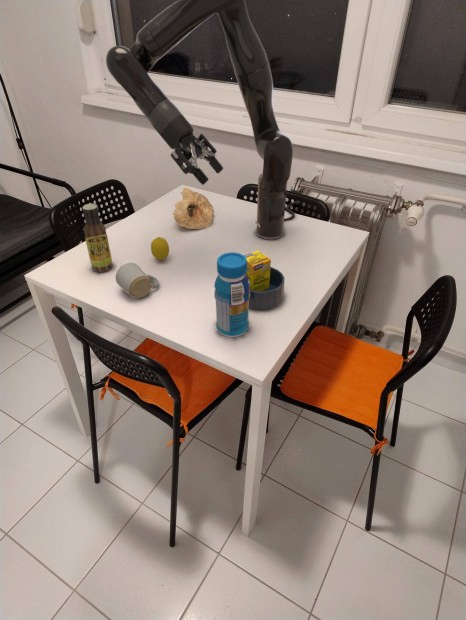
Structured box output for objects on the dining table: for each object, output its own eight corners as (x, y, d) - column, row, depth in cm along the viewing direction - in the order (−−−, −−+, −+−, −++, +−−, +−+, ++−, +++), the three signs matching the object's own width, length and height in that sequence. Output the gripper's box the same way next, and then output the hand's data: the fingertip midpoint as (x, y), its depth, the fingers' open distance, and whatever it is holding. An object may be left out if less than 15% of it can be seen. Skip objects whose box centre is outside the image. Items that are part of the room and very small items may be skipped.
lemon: (167, 265, 123) (164, 242, 118) (150, 263, 123) (146, 240, 118) (172, 256, 127) (170, 233, 122) (156, 254, 128) (153, 232, 123)
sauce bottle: (94, 275, 119) (77, 213, 106) (90, 264, 123) (74, 204, 110) (116, 270, 121) (102, 208, 108) (111, 260, 125) (98, 200, 113)
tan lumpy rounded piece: (208, 244, 145) (212, 230, 139) (169, 235, 143) (171, 221, 136) (213, 207, 154) (217, 193, 147) (176, 199, 152) (179, 184, 145)
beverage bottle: (210, 333, 99) (206, 265, 86) (223, 313, 105) (221, 246, 92) (242, 342, 96) (243, 273, 84) (253, 320, 102) (256, 253, 90)
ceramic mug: (132, 304, 108) (127, 280, 103) (117, 290, 112) (112, 267, 108) (165, 289, 113) (162, 266, 108) (150, 277, 118) (146, 254, 113)
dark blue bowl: (247, 278, 117) (247, 261, 113) (288, 289, 113) (290, 271, 109) (229, 303, 108) (228, 285, 104) (273, 315, 104) (275, 297, 100)
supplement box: (252, 300, 108) (253, 266, 101) (239, 289, 111) (239, 256, 105) (269, 292, 110) (271, 259, 103) (256, 282, 114) (257, 249, 107)
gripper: (163, 121, 91) (209, 177, 95) (193, 107, 101) (234, 159, 105) (147, 142, 96) (191, 195, 100) (177, 127, 107) (216, 176, 110)
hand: (213, 176), depth 103 cm, fingers open, 8 cm apart
